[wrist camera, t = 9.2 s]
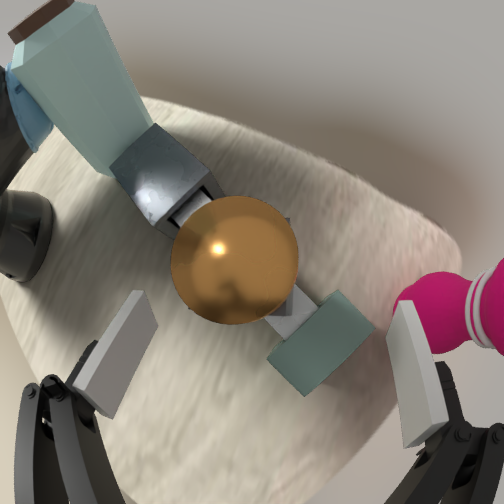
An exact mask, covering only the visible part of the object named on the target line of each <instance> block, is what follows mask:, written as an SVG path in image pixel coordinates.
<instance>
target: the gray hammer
mask: <svg viewBox="0 0 504 504" xmlns="http://www.w3.org/2000/svg"><path fill="white" fill-rule="evenodd" d="M171 216H172V218H173V219H174V220H175V221H176V222H177V223H178V225H179V226H180V227H181V228H180V230H179V232H178V234H177V236H176V238H175V241H174V244H173V247H172V252H171V274H172V279H173V282H174V285H175V288H176V290H177V292H178V294H179V296H180V297H181V298H182V300H183V301H184V303H185V304H186V305H187V306H188V307H189V308H188V309H191V310H193V311H194V312H195V313H196V314H198V315H200V316H201V317H203V318H205V319H207V320H210V321H212V322H216V323H220V324H243V323H249V322H254V321H257V320H260V319H262V318H264V319H265V320H266V321H267V322H268V323H269V324H270V325H271V326H272V327H273V328H274V329H275V330H276V331H277V332H278V333H279V334H280V335H281V337H282V338H283V339H284V340H286V339H288V338H289V337H290V336H291V335H292V334H293V333H294V332H295V331H296V330H297V329H298V328H299V327H300V326H301V325H302V324H303V323H304V322H305V321H306V320H307V319H308V318H309V317H311V316H312V315H313V314H314V313H315V312H316V311H317V310H318V309H319V308H318V307H317V306H316V305H315V303H314V302H313V301H312V300H311V299H310V298H309V297H308V296H307V295H306V294H305V293H304V292H303V291H302V290H301V289H300V288H299V287H298V286H297V285H296V284H295V282H296V278H297V273H298V247H297V242H296V238H295V236H294V233H293V231H292V229H291V227H290V218H284V217H283V216H282V215H281V214H280V213H279V212H278V211H277V210H276V209H275V208H273V207H272V206H270V205H269V204H267V203H265V202H263V201H261V200H258V199H255V198H251V197H246V196H229V197H223V198H219V199H216V200H214V201H211V200H210V199H209V198H208V197H207V196H206V195H205V194H204V193H203V192H202V191H201V190H200V189H198V190H196V191H195V192H194V193H193V194H192V195H191V196H190V197H189V198H188V199H187V200H186V201H185V202H184V203H183V204H182V205H181V206H180V207H179V208H178V209H177V210H176V211H175V212H174V213H173V214H171Z"/></svg>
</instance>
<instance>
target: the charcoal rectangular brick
mask: <svg viewBox="0 0 504 504" xmlns="http://www.w3.org/2000/svg"><path fill="white" fill-rule="evenodd" d="M109 169H110V170H111V172H112V173H113V174H114V176H115V177H116V178H117V180H118V181H119V183H120V184H121V185H122V187H123V188H124V189H125V191H126V192H127V193H128V195H129V196H130V197H131V199H132V200H133V201H134V203H135V204H136V205H137V207H138V208H139V209H140V211H141V212H142V213H143V215H144V216H145V217H146V218H147V220H148V221H149V222H150V224H151V225H152V226H153V227H155V228H156V229H158V230H159V231H161V232H162V233H164V234H165V235H167V236H169V237H170V238H172V239H173V240H175V238H176V236H177V234H178V232H179V230H180V228H181V227H180V226H179V225H178V223H177V222H176V221H175V220H174V219H173V218H172V216H171V214H173V213H174V212H175V211H176V210H177V209H178V208H179V207H180V206H181V205H182V204H183V203H184V202H185V201H186V200H187V199H188V198H189V197H190V196H191V195H192V194H193V193H194V192H195V191H196V190H198V189H200V190H201V191H202V192H203V193H204V194H205V195H206V196H207V197H208V198H209V199H210V200H211V201H214V200H216V199H219V198H223V197H226V196H225V194H224V193H223V191H222V189H221V188H220V186H219V184H218V183H217V181H216V179H215V178H214V176H213V174H212V173H211V171H210V170H209V169H208V168H207V167H206V166H205V165H203V164H202V163H201V162H200V161H199V160H198V159H197V158H196V157H194V156H193V155H192V154H191V153H190V152H189V151H188V150H187V149H185V148H184V147H183V146H182V145H181V144H180V143H179V142H177V141H176V140H175V139H174V138H173V137H172V136H171V135H169V134H168V133H167V132H166V131H165V130H164V129H162V128H161V127H160V126H159V125H158V124H157V123H154V124H153V125H152V126H151V127H150V128H149V129H148V130H146V131H145V132H144V133H143V134H142V135H141V136H140V137H139V138H138V139H137V140H136V141H135V142H133V143H132V144H131V145H130V146H129V147H128V148H127V149H126V150H125V151H124V152H123V153H122V154H121V155H120V156H119V157H118V158H117V159H116V160H115V161H114V162H113V163H112V164H111V165H110V166H109Z"/></svg>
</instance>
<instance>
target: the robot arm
mask: <svg viewBox="0 0 504 504" xmlns="http://www.w3.org/2000/svg"><path fill="white" fill-rule="evenodd" d="M11 64H12V62H11V63H8V64H7V65H6V67H5V68H3V67H1V66H0V272H1V273H2V274H4V275H5V276H6V277H8V278H9V279H11V280H15V281H19V282H26V281H28V280H30V279H31V278H32V277H33V276H34V275H35V274H36V272H37V271H38V269H39V268H40V266H41V264H42V262H43V260H44V257H45V255H46V252H47V249H48V245H49V242H50V237H51V231H52V210H51V206H50V203H49V201H48V200H47V199H46V198H45V197H43V196H41V195H39V194H38V193H35V192H27V191H16V190H8V189H6V188H7V187H8V186H9V184H10V183H11V181H12V180H13V179H14V177H15V176H16V175H17V173H18V172H19V171H20V169H21V168H22V167H23V165H24V164H25V163H26V162H27V160H28V159H29V158H30V157H31V155H32V154H33V153H36V152H37V151H38V148H39V146H40V145H41V144H42V143H43V141H44V140H45V139H46V138H47V137H48V135H49V134H50V133H51V131H52V130H53V127H54V123H53V122H52V121H51V120H50V118H49V117H48V116H47V115H46V114H45V112H44V111H43V110H42V109H41V108H40V106H39V105H38V104H37V103H36V102H35V100H34V99H33V98H32V97H31V95H30V94H29V93H28V92H27V90H26V89H25V88H24V87H23V85H22V84H21V83H20V82H19V80H18V79H17V78H16V76H15V75H14V74H13V72H12V71H11ZM157 328H158V324H157V322H156V319H155V317H154V314H153V312H152V309H151V307H150V304H149V302H148V299H147V297H146V294H145V291H140V290H133V291H132V292H131V293H130V295H129V296H128V298H127V299H126V301H125V302H124V304H123V305H122V306H121V308H120V309H119V311H118V312H117V314H116V315H115V317H114V318H113V320H112V321H111V323H110V324H109V326H108V328H107V329H106V331H105V332H104V334H103V335H102V337H101V338H100V340H99V341H97V340H94V341H93V342H92V343H91V344H90V345H88V346H87V348H86V350H85V351H84V353H83V356H81V357H80V359H79V362H77V364H76V366H75V367H74V369H73V371H72V372H71V374H70V376H69V377H68V379H67V381H66V382H65V384H64V383H63V382H62V381H61V379H60V378H59V377H58V376H57V375H54V374H51V375H48V376H46V377H45V378H44V379H43V380H42V382H41V384H40V387H39V386H38V385H37V384H36V383H30V384H28V385H27V386H26V387H25V388H24V390H23V393H22V399H21V404H20V410H19V417H18V425H17V433H16V443H15V460H14V492H15V504H69V501H70V504H126V503H125V501H124V499H123V496H122V494H121V492H120V489H119V487H118V484H117V482H116V479H115V477H114V474H113V471H112V469H111V466H110V463H109V460H108V457H107V454H106V451H105V448H104V444H103V441H102V437H101V434H100V430H99V427H98V423H97V419H96V416H95V414H94V412H95V409H96V410H97V411H98V412H99V413H100V414H101V415H103V416H105V417H108V418H110V419H113V418H114V416H115V414H116V412H117V410H118V407H119V405H120V403H121V401H122V399H123V397H124V394H125V392H126V390H127V388H128V386H129V384H130V382H131V380H132V378H133V375H134V373H135V371H136V369H137V367H138V365H139V363H140V361H141V359H142V357H143V355H144V353H145V351H146V349H147V347H148V345H149V343H150V341H151V339H152V337H153V335H154V333H155V331H156V330H157ZM385 338H386V342H387V347H388V351H389V356H390V361H391V365H392V371H393V376H394V381H395V387H396V393H397V399H398V405H399V412H400V419H401V426H402V427H401V428H402V436H403V447H404V448H409V447H414V446H419V445H420V444H422V443H423V442H424V441H425V447H424V448H423V449H421V450H420V451H419V452H418V453H417V454H416V455H417V456H418V455H419V454H420V455H419V457H418V458H417V460H416V462H415V463H414V465H413V466H412V467H411V469H410V470H409V472H408V473H407V475H406V476H405V477H404V479H403V480H402V482H401V483H400V484H399V486H398V487H397V488H396V489H395V491H394V492H393V493H392V494H391V496H390V497H389V498H388V499H387V501H386V502H385V503H384V504H438V503H439V502H440V500H441V499H442V500H441V503H440V504H493V501H494V498H495V494H496V491H497V488H498V484H499V480H500V476H501V472H502V468H503V463H504V424H502V423H495V424H494V425H492V426H491V427H490V428H476V427H472V425H471V424H470V423H469V422H467V421H465V419H464V417H463V414H462V410H461V405H460V402H459V398H458V394H457V390H456V389H455V383H454V381H453V377H452V374H451V370H450V369H449V367H448V366H447V364H446V363H445V362H444V361H441V362H434V360H433V356H432V353H431V350H430V347H429V344H428V341H427V338H426V335H425V333H424V330H423V327H422V324H421V322H420V319H419V316H418V314H417V311H416V309H415V306H414V304H413V301H412V300H401V301H399V302H398V305H397V307H396V310H395V313H394V316H393V319H392V321H391V324H390V327H389V329H388V332H387V335H386V337H385ZM42 417H43V418H44V419H45V421H44V423H43V422H42ZM442 497H443V498H442Z"/></svg>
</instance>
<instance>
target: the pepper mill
mask: <svg viewBox="0 0 504 504" xmlns="http://www.w3.org/2000/svg"><path fill="white" fill-rule="evenodd" d="M401 300H412V301H413V304H414V306H415V309H416V311H417V314H418V316H419V319H420V322H421V324H422V327H423V330H424V333H425V335H426V338H427V341H428V344H429V347H430V350H431V353H432V354H442V353H446V352H448V351H451V350H453V349H455V348H457V347H458V346H460V345H461V344H462V343H463V342H464V341H468V340H473V341H474V342H475V343H476V344H477V345H478V346H480V347H483V348H491V349H497V351H498V352H499V353H500V354H501V355H503V356H504V258H503V259H502V260H501V261H500V262H499V264H498V265H497V266H496V267H493V268H491V269H487V270H484V271H482V272H481V273H480V274H478V275H477V276H476V278H475V279H474V280H473V281H469V280H466V279H464V278H462V277H461V276H459V275H457V274H454V273H449V272H435V273H430V274H427V275H425V276H423V277H422V278H420V279H419V280H418V281H416V282H415V283H414V284H413V285H411V286H409V287H407V288H406V289H405V290H403V291H402V292H401V294H400V295H399V297H398V298H397V300H396V302H395V305H394V309H393V316H394V313H395V310H396V307H397V305H398V302H399V301H401Z"/></svg>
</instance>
